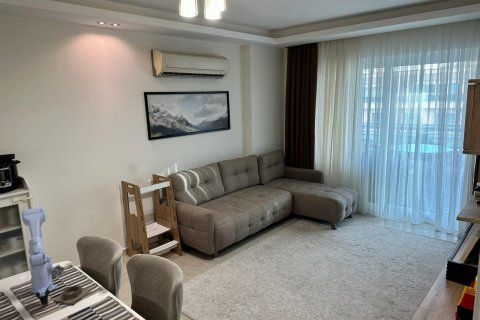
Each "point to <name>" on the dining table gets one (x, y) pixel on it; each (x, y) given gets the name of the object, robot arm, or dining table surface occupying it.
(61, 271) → the egg carton
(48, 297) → the egg
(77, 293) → the egg stand
